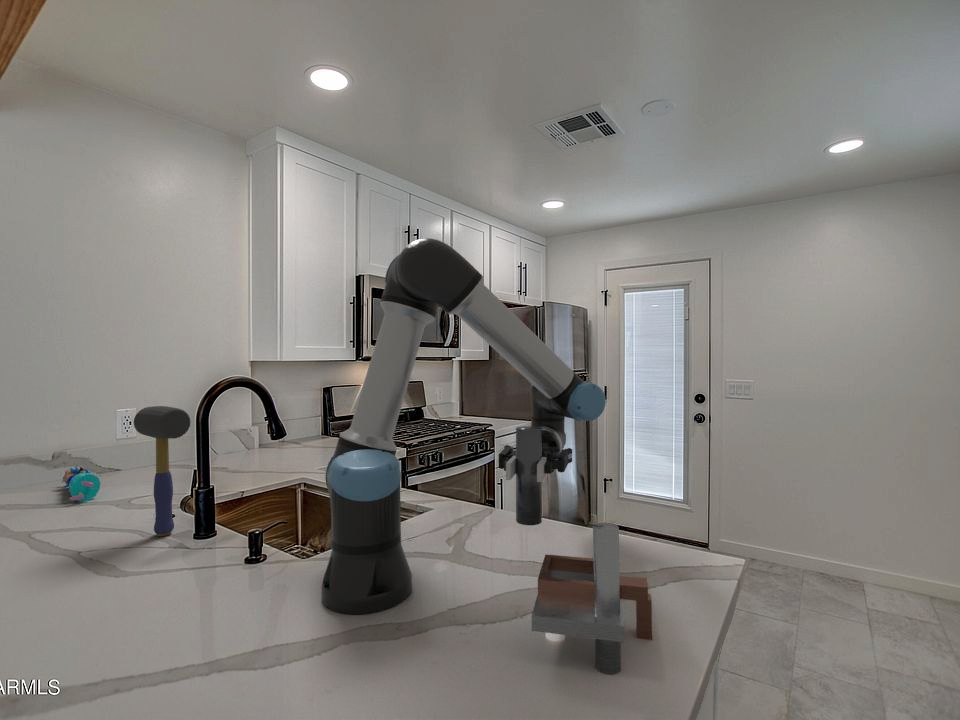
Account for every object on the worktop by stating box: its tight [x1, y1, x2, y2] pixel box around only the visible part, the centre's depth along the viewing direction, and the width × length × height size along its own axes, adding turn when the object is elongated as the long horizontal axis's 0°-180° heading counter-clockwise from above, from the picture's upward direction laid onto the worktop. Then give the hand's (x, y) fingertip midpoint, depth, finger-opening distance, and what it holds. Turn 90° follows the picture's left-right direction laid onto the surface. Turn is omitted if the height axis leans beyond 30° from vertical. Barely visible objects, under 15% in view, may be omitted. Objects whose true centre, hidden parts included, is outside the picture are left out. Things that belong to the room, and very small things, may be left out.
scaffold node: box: [531, 522, 653, 675], centre depth 68 cm, size 16×15×18 cm
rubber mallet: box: [133, 405, 192, 537], centre depth 113 cm, size 12×8×30 cm, turn 60°
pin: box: [515, 425, 543, 526], centre depth 84 cm, size 4×4×16 cm
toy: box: [61, 466, 101, 503], centre depth 151 cm, size 8×8×30 cm
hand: (523, 472), depth 79 cm, fingers closed on pin, 4 cm apart
